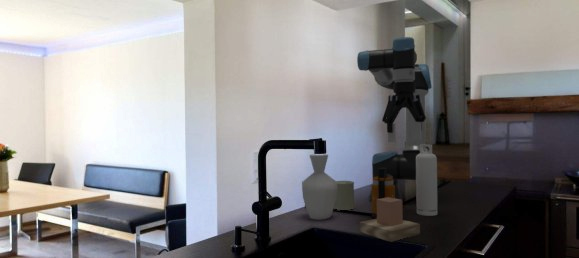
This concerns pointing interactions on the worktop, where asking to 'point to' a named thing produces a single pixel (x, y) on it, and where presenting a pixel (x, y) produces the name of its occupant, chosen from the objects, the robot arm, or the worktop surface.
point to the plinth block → (390, 230)
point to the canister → (381, 188)
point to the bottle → (426, 182)
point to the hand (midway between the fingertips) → (405, 140)
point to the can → (344, 195)
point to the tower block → (389, 211)
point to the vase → (319, 190)
